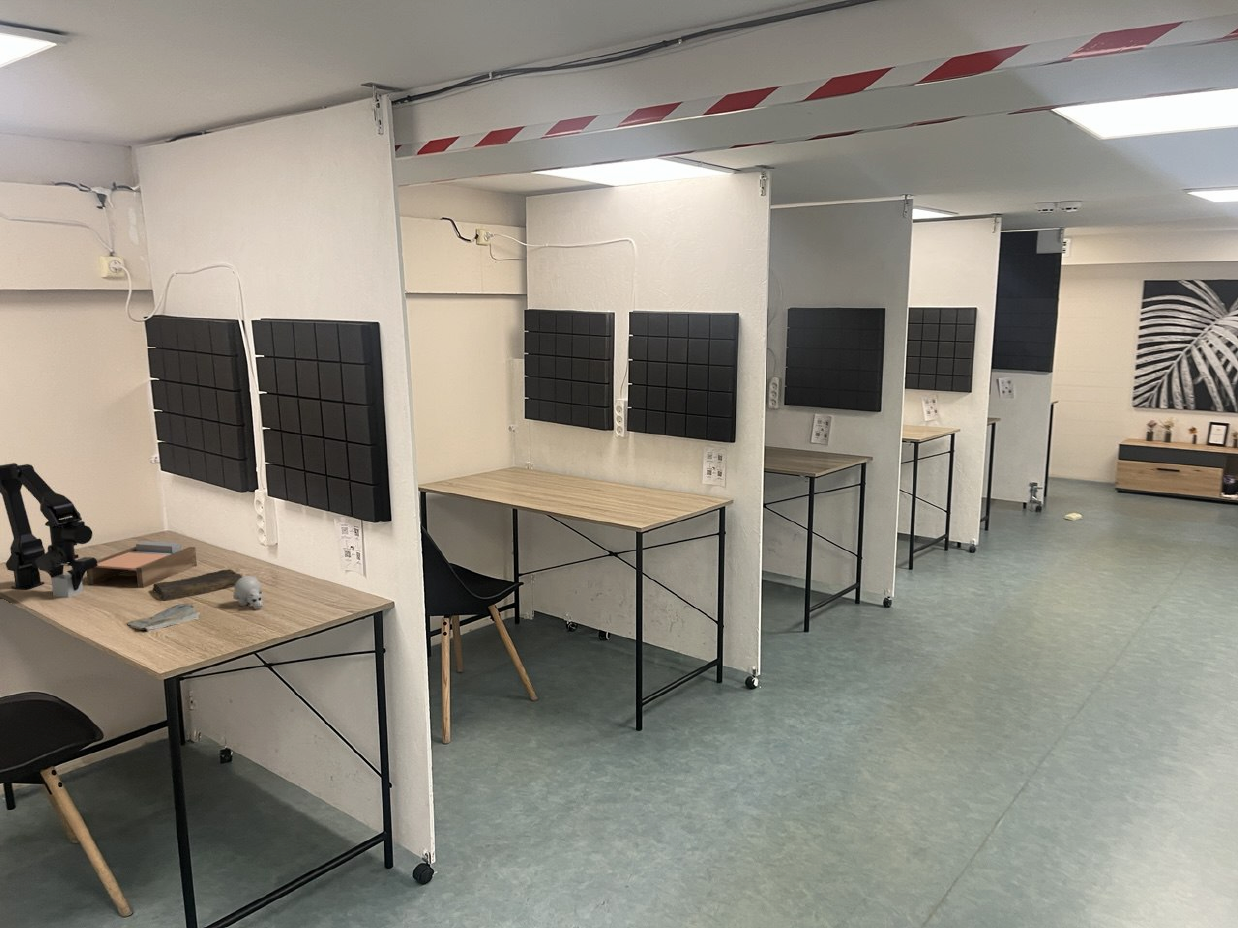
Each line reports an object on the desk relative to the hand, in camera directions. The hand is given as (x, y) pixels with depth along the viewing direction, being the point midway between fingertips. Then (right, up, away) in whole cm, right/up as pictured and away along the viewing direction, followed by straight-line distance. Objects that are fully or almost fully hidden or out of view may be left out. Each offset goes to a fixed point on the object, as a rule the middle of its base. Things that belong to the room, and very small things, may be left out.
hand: (67, 589), depth 265 cm
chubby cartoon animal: (+61, -4, -10) cm, 62 cm away
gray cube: (0, -2, 0) cm, 2 cm away
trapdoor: (+12, +5, +18) cm, 23 cm away
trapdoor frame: (+12, +2, +20) cm, 24 cm away
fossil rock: (+41, -6, -21) cm, 47 cm away
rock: (+38, -1, +7) cm, 38 cm away
